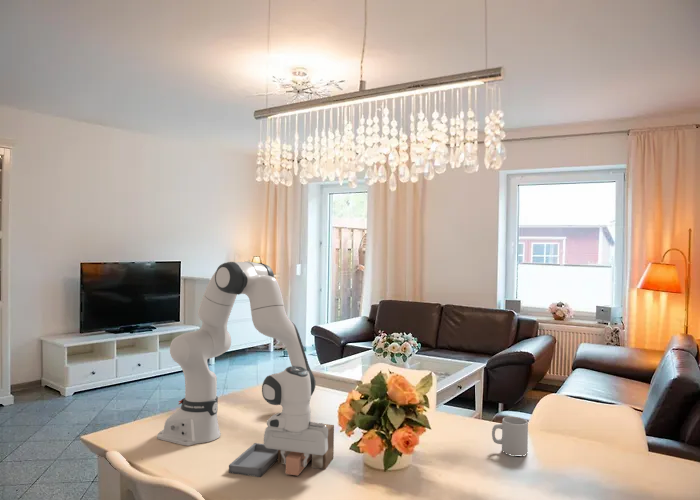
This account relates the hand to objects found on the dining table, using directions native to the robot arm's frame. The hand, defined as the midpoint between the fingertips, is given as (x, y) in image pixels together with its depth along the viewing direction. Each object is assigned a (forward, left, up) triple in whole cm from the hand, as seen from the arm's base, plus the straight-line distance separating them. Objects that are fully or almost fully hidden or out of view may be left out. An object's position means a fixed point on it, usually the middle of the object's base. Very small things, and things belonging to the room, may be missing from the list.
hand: (295, 465), depth 159 cm
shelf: (0, +9, -2) cm, 10 cm away
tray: (-14, +3, -2) cm, 15 cm away
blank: (0, +4, -2) cm, 4 cm away
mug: (+65, +36, -3) cm, 75 cm away
